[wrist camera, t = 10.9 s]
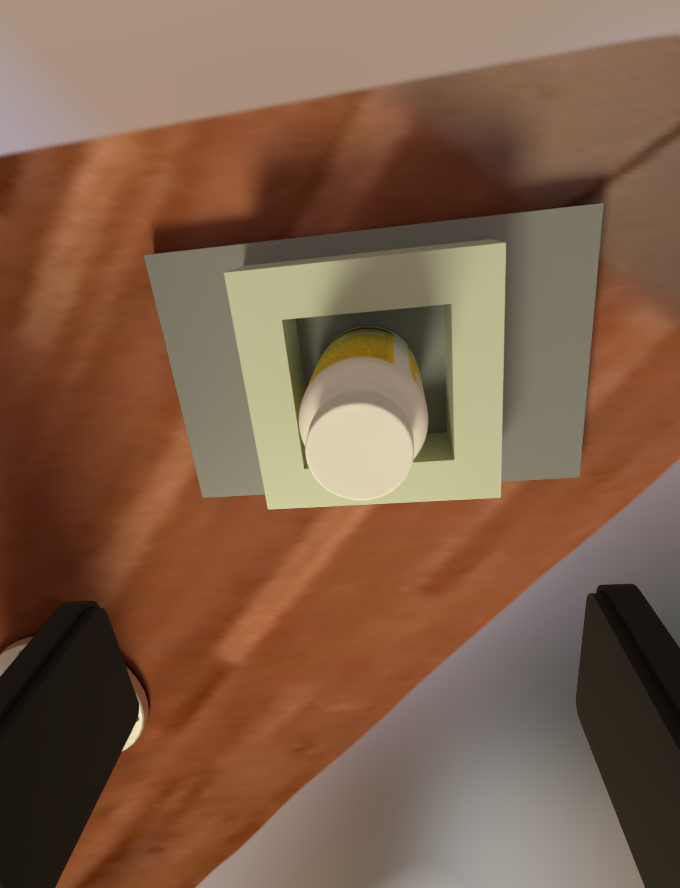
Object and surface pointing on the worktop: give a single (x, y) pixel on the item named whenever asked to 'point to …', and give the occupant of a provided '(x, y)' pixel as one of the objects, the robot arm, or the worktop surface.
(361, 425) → the supplement bottle
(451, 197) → the worktop surface
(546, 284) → the socket board
